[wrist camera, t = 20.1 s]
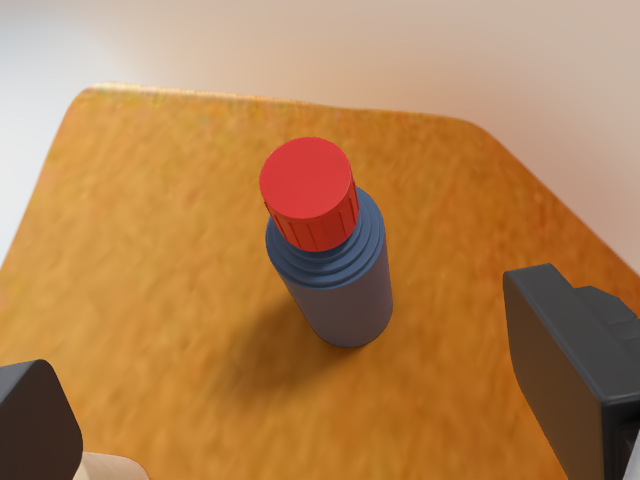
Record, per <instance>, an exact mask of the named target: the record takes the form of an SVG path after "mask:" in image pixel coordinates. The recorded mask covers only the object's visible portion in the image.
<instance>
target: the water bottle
mask: <svg viewBox="0 0 640 480" xmlns="http://www.w3.org/2000/svg"><path fill="white" fill-rule="evenodd" d="M355 187H356V186H355ZM356 192H357V197H358V203H359V208H360V210H359V215H358V221H357V225H356V226H355V229H354V230H353V232H352V234H351V235H350V236H349V237H348V238H347V239H346V240H345V241H344V242H343V243H341V244H340V245H338V246H337V247H335V248H332V249H330V250H326V251H321V252H309V251H304V250H301V249H298V248H296V247H294V246H293V245H291V244H290V243H289V242H287V241H286V240H285V238H284V237H283V235H282V233H281V232H280V230H278V229H277V227H276V225H275V223H274V221H273V219H272V217H271V216H270V218H269V221H268V224H267V228H266V238H265V241H266V248H267V252H268V255H269V258H270V260H271V262H272V264H273V266H274V267H275V269H276V270H277V272H278V274H279V275H280V277H281V279H282V280H283V282H284V283H285V285H286V287H287V288H288V290H289V292H290V293H291V295H292V296H293V298H294V300H295V301H296V303H297V304H298V306H299V308H300V309H301V311H302V313H303V314H304V316H305V317H306V319H307V321H308V322H309V324H310V326H311V327H312V329H313V330H314V331H315V333H316V334H317V335H318V336H319V337H320V338H322V339H323V340H324V341H326V342H328V343H330V344H332V345H335V346H339V347H346V348H348V347H358V346H361V345H364V344H367V343H369V342H371V341H372V340H374V339H375V338H376V337H378V336H379V335H380V334H381V333H382V332H383V330H384V329H385V328H386V326H387V324H388V322H389V320H390V317H391V314H392V306H393V303H392V292H391V283H390V274H389V265H388V256H387V246H386V237H385V228H384V222H383V218H382V215H381V212H380V210H379V208H378V206H377V205H376V203H375V202H374V200H373V199H372V198H371V197H370V196H369V195H368V194H367V193H365V192H364V191H363V190H361V189H360V188H358V187H356Z"/></svg>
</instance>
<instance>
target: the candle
mask: <svg viewBox="0 0 640 480" xmlns="http://www.w3.org/2000/svg"><path fill="white" fill-rule="evenodd" d="M73 480H150V479H149V477H148V475H147V473H146V472H145V470H144V469H143V468H142V467H141V466H140V465H139V464H138V463H136V462H135V461H133V460H131V459H129V458H126V457H122V456H115V455H107V454H99V453H91V452H83V454H82V460H81V463H80V466H79V468H78V470H77V472H76V474H75V476H74V478H73Z"/></svg>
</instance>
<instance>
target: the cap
mask: <svg viewBox="0 0 640 480" xmlns="http://www.w3.org/2000/svg"><path fill="white" fill-rule="evenodd" d="M260 190H261V194H262V196H263V198H264V200H265V202H264V203H265V205H266V207H267V209H268V211H269V213H270V215H271V217H272V219H273V221H274V223H275V225H276V227H277V229H278V230H280V232H281V233H282V235H283V237H284V238H285V240H286V241H287V242H289V243H290V244H291V245H293V246H294V247H296V248H298V249H301V250H304V251H309V252H321V251H326V250H330V249H332V248H335V247H337V246H338V245H340V244H341V243H343V242H344V241H345V240H346V239H347V238H348V237H349V236H350V235H351V234H352V232H353V230H354V229H355V226H356V225H357V221H358V215H359V210H360V208H359V203H358V197H357V192H356V187H355V182H354V180H353V176H352V171H351V166H350V163H349V161H348V159H347V157H346V155H345V154H344V152H343V151H342V150H341V149H340V148H339V147H337V146H336V145H335V144H333V143H331V142H329V141H327V140H325V139H321V138H316V137H303V138H297V139H294V140H291V141H288V142H286V143H284V144H283V145H281V146H279V147H278V148H277V149H276V150H274V151H273V152H272V153H271V154H270V156H269V157H268V158H267V160H266V161H265V163H264V165H263V167H262V170H261V174H260Z"/></svg>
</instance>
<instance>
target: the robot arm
mask: <svg viewBox="0 0 640 480" xmlns="http://www.w3.org/2000/svg"><path fill="white" fill-rule="evenodd" d="M503 291H504V300H505V310H506V319H507V328H508V337H509V346H510V354H511V360H512V364H513V368H514V372H515V375H516V379H517V381H518V384H519V386H520V389H521V391H522V392H523V394H524V396H525V398H526V400H527V402H528V404H529V406H530V407H531V409H532V411H533V413H534V415H535V417H536V419H537V421H538V423H539V424H540V426H541V428H542V430H543V432H544V434H545V436H546V438H547V439H548V441H549V443H550V445H551V447H552V449H553V451H554V453H555V454H556V456H557V458H558V460H559V462H560V464H561V466H562V468H563V470H564V471H565V473H566V475H567V477H568V479H569V480H640V319H639V320H638V319H637V315H636V314H635V313H633V312H632V311H631V310H630V309H629V308H628V307H627V306H626V305H625V304H624V303H623V302H622V301H621V300H620V299H619V298H617V297H615V296H613V295H611V294H608V293H606V292H604V291H601V290H599V289H597V288H595V287H592V286H586V287H580V288H575V289H574V288H573V287H572V286H571V285H570V284H569V282H568V281H567V280H566V279H565V278H564V277H563V276H562V275H561V274H560V273H559V271H558V270H557V269H556V268H555V267H554V266H553V265H552V264H550V263H548V264H542V265H537V266H532V267H527V268H521V269H516V270H511V271H506V272H504V274H503ZM82 454H83V440H82V434H81V431H80V428H79V425H78V423H77V421H76V419H75V416H74V414H73V412H72V410H71V407H70V405H69V403H68V400H67V398H66V396H65V394H64V391H63V389H62V387H61V385H60V382H59V380H58V378H57V375H56V373H55V371H54V369H53V368H52V366H51V365H50V364H49V363H48V362H47V361H45V360H42V359H39V360H34V361H29V362H23V363H18V364H13V365H8V366H2V367H0V480H73V478H74V476H75V474H76V472H77V470H78V468H79V466H80V463H81V460H82Z"/></svg>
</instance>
